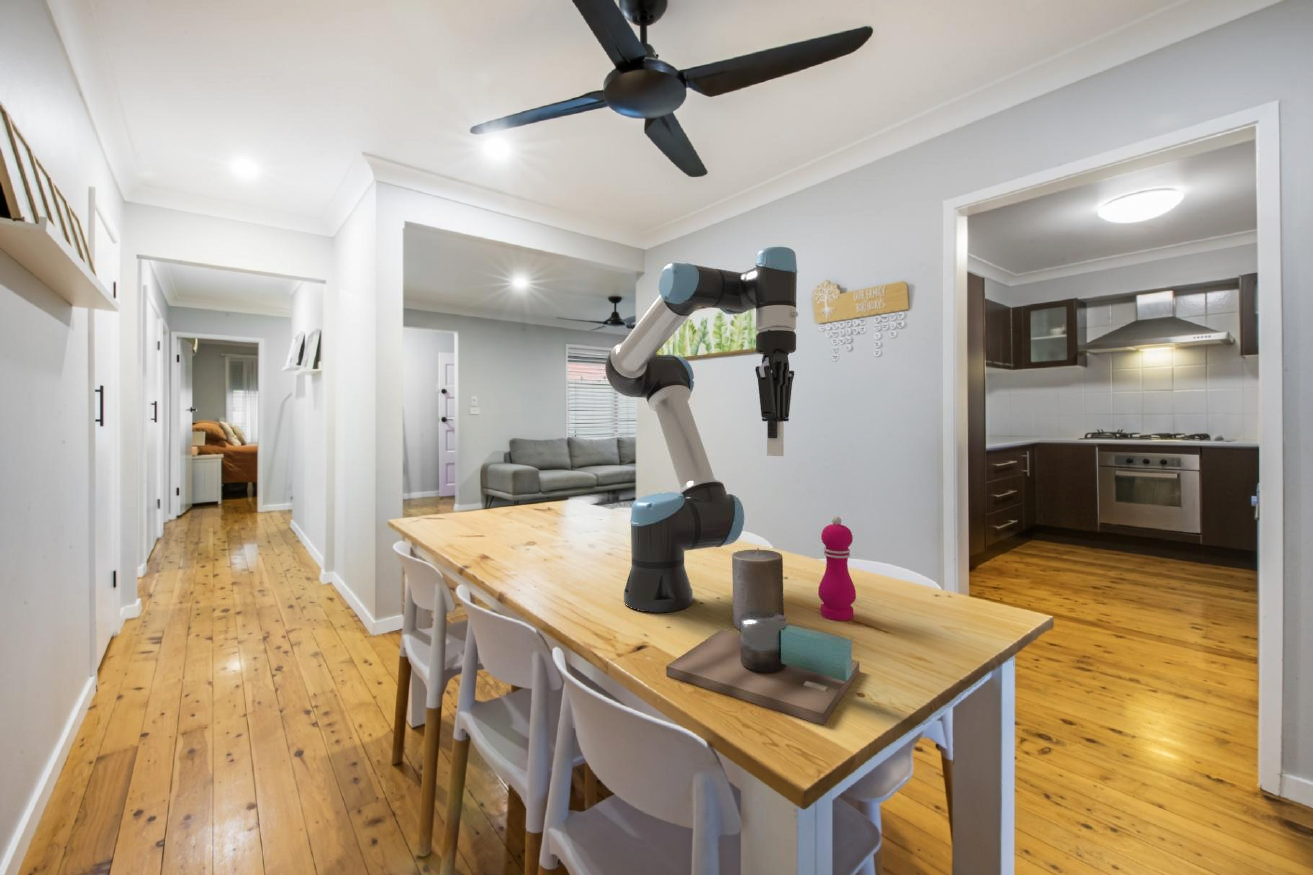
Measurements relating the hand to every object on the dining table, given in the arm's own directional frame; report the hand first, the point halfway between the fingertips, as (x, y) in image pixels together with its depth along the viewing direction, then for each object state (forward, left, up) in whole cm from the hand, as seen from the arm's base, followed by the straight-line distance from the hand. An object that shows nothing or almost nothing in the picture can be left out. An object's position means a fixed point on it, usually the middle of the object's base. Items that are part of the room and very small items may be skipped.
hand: (775, 455), depth 100 cm
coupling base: (+6, -20, -33) cm, 39 cm away
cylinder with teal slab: (+11, -20, -31) cm, 39 cm away
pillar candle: (-3, -2, -33) cm, 33 cm away
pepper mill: (+8, +12, -33) cm, 36 cm away
